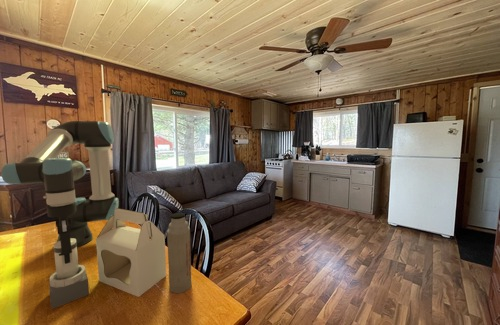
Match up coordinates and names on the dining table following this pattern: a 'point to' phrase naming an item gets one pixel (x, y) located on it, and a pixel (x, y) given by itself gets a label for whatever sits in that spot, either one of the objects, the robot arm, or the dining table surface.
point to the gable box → (131, 253)
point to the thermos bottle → (179, 254)
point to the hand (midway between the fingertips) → (67, 266)
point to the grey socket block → (68, 288)
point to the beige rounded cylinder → (59, 260)
